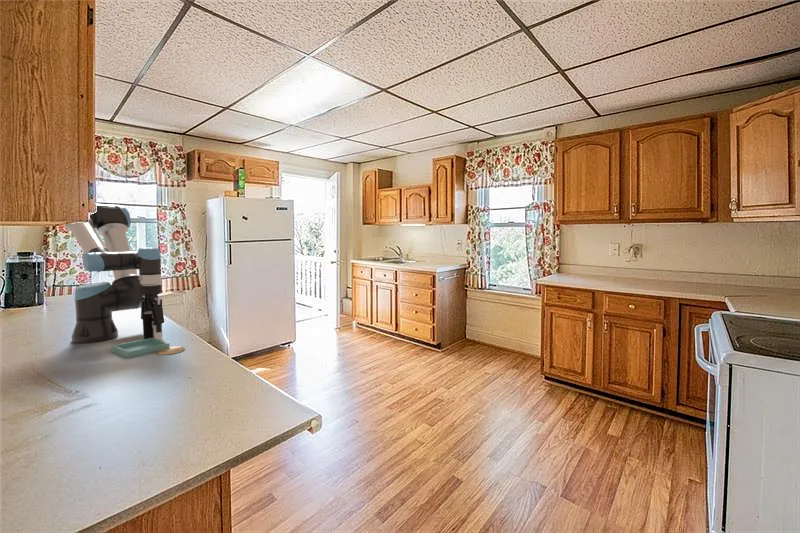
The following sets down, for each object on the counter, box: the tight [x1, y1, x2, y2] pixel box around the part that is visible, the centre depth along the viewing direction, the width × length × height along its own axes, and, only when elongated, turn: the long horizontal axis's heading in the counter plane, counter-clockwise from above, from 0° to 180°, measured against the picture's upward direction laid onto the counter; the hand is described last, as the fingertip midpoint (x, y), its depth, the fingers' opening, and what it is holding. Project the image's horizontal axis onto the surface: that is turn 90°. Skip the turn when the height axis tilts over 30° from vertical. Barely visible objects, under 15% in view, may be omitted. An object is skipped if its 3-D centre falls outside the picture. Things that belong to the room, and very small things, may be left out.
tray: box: [111, 338, 171, 359], centre depth 140 cm, size 14×14×2 cm
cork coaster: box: [155, 345, 185, 356], centre depth 140 cm, size 9×9×1 cm
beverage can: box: [142, 311, 163, 339], centre depth 154 cm, size 7×7×12 cm
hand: (153, 337), depth 154 cm, fingers open, 8 cm apart
